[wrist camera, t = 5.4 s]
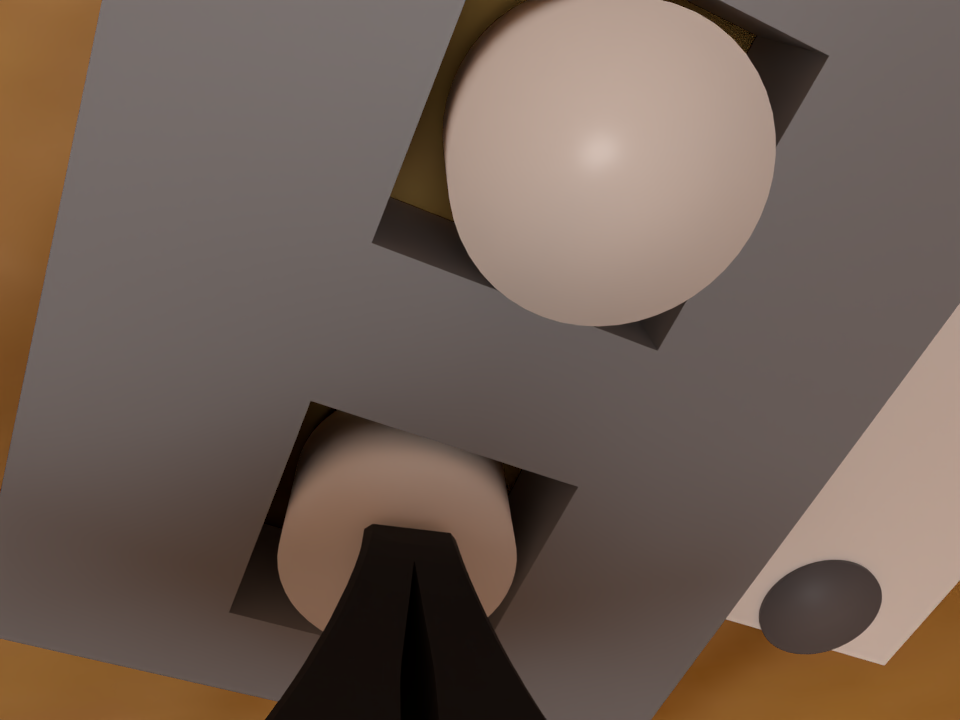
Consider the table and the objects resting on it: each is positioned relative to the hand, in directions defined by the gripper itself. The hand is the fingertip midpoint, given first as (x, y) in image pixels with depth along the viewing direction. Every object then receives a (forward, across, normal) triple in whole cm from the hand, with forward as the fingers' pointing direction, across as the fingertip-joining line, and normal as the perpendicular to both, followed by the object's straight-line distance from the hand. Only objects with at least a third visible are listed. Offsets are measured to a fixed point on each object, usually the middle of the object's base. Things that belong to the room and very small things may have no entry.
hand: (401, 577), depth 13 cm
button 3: (+2, 0, 0) cm, 2 cm away
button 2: (+2, -1, -7) cm, 7 cm away
